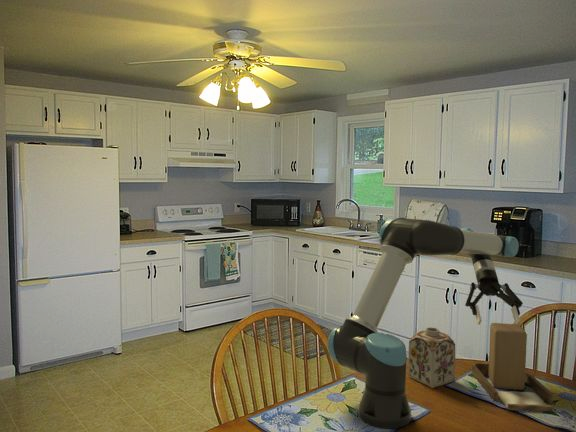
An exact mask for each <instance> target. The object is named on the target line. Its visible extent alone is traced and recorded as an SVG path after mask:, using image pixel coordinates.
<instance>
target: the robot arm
mask: <svg viewBox="0 0 576 432" xmlns="http://www.w3.org/2000/svg"><path fill="white" fill-rule="evenodd" d="M378 237H379V238H378V239H379V241H378V242H379V245H380V247H379V249H380V251H381V256H380V257H379V260H378V261H377V264H376V266H375V268H374V270H373V272H372V274H371V277H370V279H369V281H368V283H367V284H366V287H365V289H364V291H363V293H362V295H361V298H360V299H359V301H358V304H357V306H356V308H355V310H354V312H353V314H352V315H351V316H349V317H346V318H345V320H344V322H343V324H341V325H337V326H336V327H334V328H333V329H332V330H331V332H330V333H329V336H328V338H327V350H328V354H329V356H330V358H331V360H332V361H334V362H335V363H337V364H339V365H340V366H342V367H345V368H348V369H349V370H352V371H354V372H357V373H360V374H362V375H363V376H365V377H364V379H365V384H364V385H365V386H364V391H363V394H362V397H361V399H360V402H359V405H358V416H359V418H360V419H361V420H362V421H363V422H364V423H366V424H368V425H370V426H373V427H377V428H381V429H399V428H402V427H403V428H404V427H405V426H407V425H408V424H409V423H410V422H411V419H412V418H411V416H412V412H411V407H410V404H409V400H408V398H407V394H406V382H407V381H406V379H407V378H406V376H407V362H408V359H407V358H408V357H407V347H406V344H405V343H404V341H403V340H401V339H400V338H399V337H397V336H394V335H392V334H389V333H384V332H379V331H378V327H379V324H380V322H381V320H382V318H383V315H384V314H385V311H386V310H387V307H388V305H389V302H390V300H391V298H392V296H393V293H394V291H395V289H396V287H397V284H398V282H399V281H400V278H401V277H402V274H403V272H404V269H405V267H406V266H407V265H409V264H411V263H413V261H414V259H415V256H416V255H419V256H454V255H458V254H461V253H463V254H467V255H468V256H469V257H470V258H471V262H472V265H473V266H472V267H473V269H474V274H475V278H476V282H477V283H475V282H471V284H470V286H469V293H468V295H467V299H466V301H465V304H464V305H465V307H469V309H470V310H471V313H472V315H473V316H475V319H476V323H477V325H481V323H482V316H481V312H480V308H479V305H478V303H479V302H480V300H481V299H482V297H483V296H486V297H489V296H491V297H495V296H496V297H497V298H499V299H501V300H502V301H503V302H504V303H506V304H507V305H508V306H509V307H510V308H511V314H512V317H513V320H514V324H518V325H520V323H521V319H520V314H521V312H520V308H521V307H522V305H523V304H524V303H523V301H522V300H521V299H520V298H519V297H518V295H517V294H516V293H515V292H514V291H513V290H512V289H511V287H510V286H509V284H508V282H507V283H506V282H505V283H504V284H500V283H499V282H500V281H499V278H498V274H497V271H496V268H495V263H494V261H493V257H492V256H498V257H505V258H507V257H508V258H513V257H515V256H516V255H517V254H518V252H519V246H520V244H519V241H518V239H517V238H516V237H514V236H509V235H500V234H492V233H485V232H477V231H474V230H473V229H471V227H463V228H460V227H457V226H456V225H448V224H446V223H445V224H444V223H442V222H437V221H434V220H429V219H417V218H407V217H392V218H389V219H388V220H386V222H384V224H383V225H382V226H381V228H380V230H379V234H378ZM477 289H478V290H479V291H480V292H479V293H478V294H477V296H475V298H474V300H472V299H473V295H474V293H475V291H476V290H477ZM471 301H472V302H471Z"/></svg>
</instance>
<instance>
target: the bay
mask: <svg viewBox="0 0 576 432" xmlns="http://www.w3.org/2000/svg"><path fill="white" fill-rule="evenodd" d="M473 363H474V365H471V375H472V376H473V377H474V378H475V379H477V380H476V381H477V383H479V385H480V384H481V385H480V386H481V387H482V388H483V390H484V389H485V390H484V392H486V394H487V395H488V394H489V395H488V396H489V397H490V398H491V400H492V399H493V400H492V401H493V402H494V401H498V402H499V400H500V402H501V403H502V404H503V403H504V404H505V405H506V406H505V405H504V404H503V405H504V406H505V407H506V408H507V407H508V408H507V410H508V411H521V410H529V411H528V412H552V413H553V411H554V406H553V405H550V404H553V400H554V399H553V398H554V394H553V393H552V392H551V391H550V390H549V389H548V388H546V386H545V385H544V384H542V382H540V381H539V380H538V379H537V378H536V377H535V376H533V375H532V374H531V373H530V372H529V371H528V369H526V368H525V383H527V384H528V385H529V386H530V387H531V388H532V390H534V391H535V392H533V391H532V392H530V391H529V392H527V391H498V390H497V389H496V387H494V386H493V384H492V382H491V381H489V380H488V379H487V377H486V375H487V376H489V375H488V373H489V362H473ZM539 396H540V397H541V398H542V399H543V400H542V399H541V398H540V397H539ZM544 400H545V402H547V403H545V402H544Z"/></svg>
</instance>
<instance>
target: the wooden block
mask: <svg viewBox="0 0 576 432" xmlns="http://www.w3.org/2000/svg"><path fill="white" fill-rule="evenodd" d="M489 327H490V329H489V351H488V354H489V355H488V363H489V373H488V375H487V376H488V377H489V380H490V383H491V385H492V386H493V387H494V388H495V389H496V388H497V389H505V390H506V389H507V390H508V389H510V390H519V391H524V389H525V388H526V387H525V384H526V381H525V369H526V367H527V365H526V364H527V362H526V360H527V340H528V338H527V337H528V334H527V332H526V331H525V330H524V328H523V327H522V326H521V325H520V324H519V325H518V324H515V323H502V322H501V323H500V322H492V323H490V325H489Z"/></svg>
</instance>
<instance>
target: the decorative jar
mask: <svg viewBox="0 0 576 432" xmlns="http://www.w3.org/2000/svg"><path fill="white" fill-rule="evenodd" d="M407 358H408V359H407V362H408V363H407V364H408V365H407V376H408V377H409V378H410V379H412V380H414V381H416V382H419V383H421V384H422V385H425V386H427V387H429V388H431V389H434V388H438V387H441V386H443V385H446V384H449V383H452V382H455V381H456V380H455V379H456V378H455V377H456V375H455V374H456V343H455V342H454V339H452V338H451V336H450V335H449V334H447V333H445V332H442V331H440V329H439V328H437V327H432V326H431V327H429V326H428V327H426V328H425V330H421V331H417V332H415V333H414V334H413V336H412V337H411V338H410V339H409V340H408V357H407Z"/></svg>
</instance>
